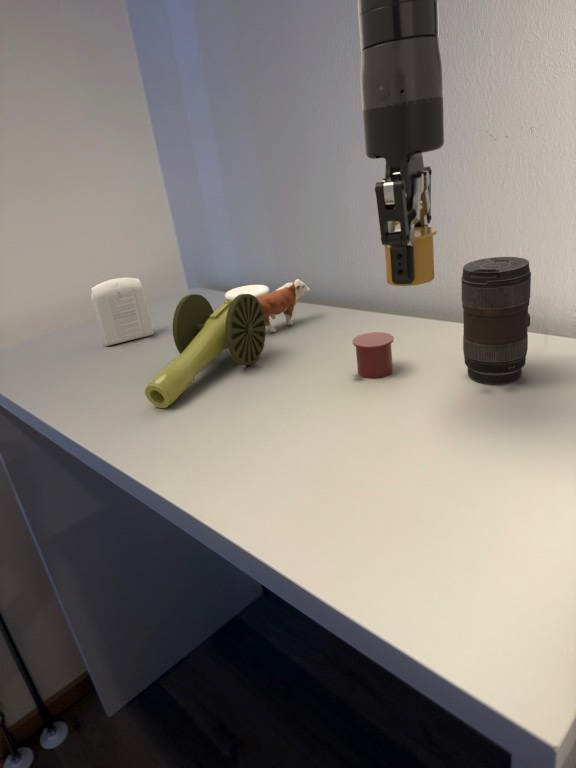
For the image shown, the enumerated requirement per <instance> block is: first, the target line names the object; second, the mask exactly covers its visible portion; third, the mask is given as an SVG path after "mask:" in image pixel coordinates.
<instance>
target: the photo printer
mask: <svg viewBox="0 0 576 768" xmlns="http://www.w3.org/2000/svg"><path fill="white" fill-rule="evenodd" d="M90 292H91V293H90V300H91V304H92V307H93V310H94V314H95V318H96V322H97V325H98V329H99V332H100V336H101V340H102V343H103V345H104V346H107V347H109V346H113V345H116V344H121V343H125V342H128V341H132V340H133V341H134V340H137V339H141V338H145V337H149V336H153V335H154V334H155V331H154V327H153V322H152V318H151V314H150V310H149V306H148V301H147V297H146V296H147V295H146V293H145V289H144V286H143V284H142V283H141V280H140V279H139V278H136V277H116V278H111V279H108V280H105V281H102V282H101V283H98V284H96V285H95V286H93V287H91V288H90Z"/></svg>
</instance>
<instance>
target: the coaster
mask: <svg viewBox="0 0 576 768" xmlns="http://www.w3.org/2000/svg"><path fill="white" fill-rule="evenodd" d="M268 293H270V288H269V287H268V286H267V285H265V284H249V285H243V286H238V287H235V288H232V289H229V290H228V291H226V292H225V293H224V298H225V301H226V300H227V299H229V300H232V301H233V300H234V298H235V297H237V296H238V295H240V294H251V295H253V296H254V297H258V296H261V295H265V294H268Z"/></svg>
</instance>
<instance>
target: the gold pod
mask: <svg viewBox="0 0 576 768" xmlns="http://www.w3.org/2000/svg"><path fill="white" fill-rule="evenodd" d="M397 231H401V228H397V229H395V232H397ZM437 234H438V228H435V227H431V226H429V227H414V244H413V248H414V271H415V279H414V281H413V282H412V283H411V284H394V283H393V282H392V273H391V257H390V248H388V247H387V245H383V246H384V260H385V275H386V283H387V284H388V285H391V286H396V287H412V286H419V285H424V284H427V283H430V282H432V281H434V279H435V255H434V253H435V252H434V251H435V249H434V236H435V235H437ZM379 239H380V240H381V234H380V235H379Z"/></svg>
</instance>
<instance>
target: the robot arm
mask: <svg viewBox="0 0 576 768" xmlns="http://www.w3.org/2000/svg"><path fill="white" fill-rule="evenodd" d="M357 17H358V30H359V31H358V32H359V44H360V51H361V52H360V73H359V74H360V76H359V77H360V78H359V79H360V82H359V83H360V96H361V107H362V108H361V109H362V122H363V134H364V149H365V155H366V157H367V158H369V159H371V160H372V159H373V160H374V159H375V160H376V159H385V165H384V168H385V169H384V170H385V171H384V177H382V179H381V181H378V182H376V183H375V187H374V193H375V200H376V206H377V207H376V208H377V214H378V223H379V224H378V225H379V231H380V232H379V233H380V235H381V239H380V242H381V245H382V246H384V245H387V247H388V248H390V257H391V273H392V282H393V283H394V284H411V283H412V282H413V281H414V279H415V271H414V248H413V244H414V227H430V225H429V224H431V221H432V173H433V171H432V167H431V166H430V165H429V166H425V164H424V157H423V153H428V152H434V151H437V150H440V149H441V148H442V147H443V146H444V143H445V125H444V124H445V123H444V121H445V119H444V78H443V77H444V74H443V72H444V71H443V60H442V53H441V45H440V37H439V36H440V31H439V30H440V20H439V19H440V17H439V0H357ZM397 225H399V226H400V229H401V231H397V232H395V230H396V226H397Z"/></svg>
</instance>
